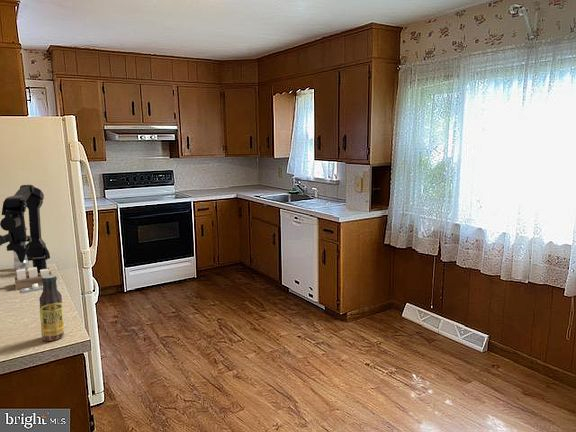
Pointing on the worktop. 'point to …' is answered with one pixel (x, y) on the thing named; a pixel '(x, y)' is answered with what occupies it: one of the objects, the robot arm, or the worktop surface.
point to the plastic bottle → (18, 264)
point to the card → (32, 288)
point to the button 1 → (21, 274)
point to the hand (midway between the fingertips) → (22, 262)
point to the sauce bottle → (51, 310)
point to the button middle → (33, 272)
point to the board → (29, 281)
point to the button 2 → (44, 272)
